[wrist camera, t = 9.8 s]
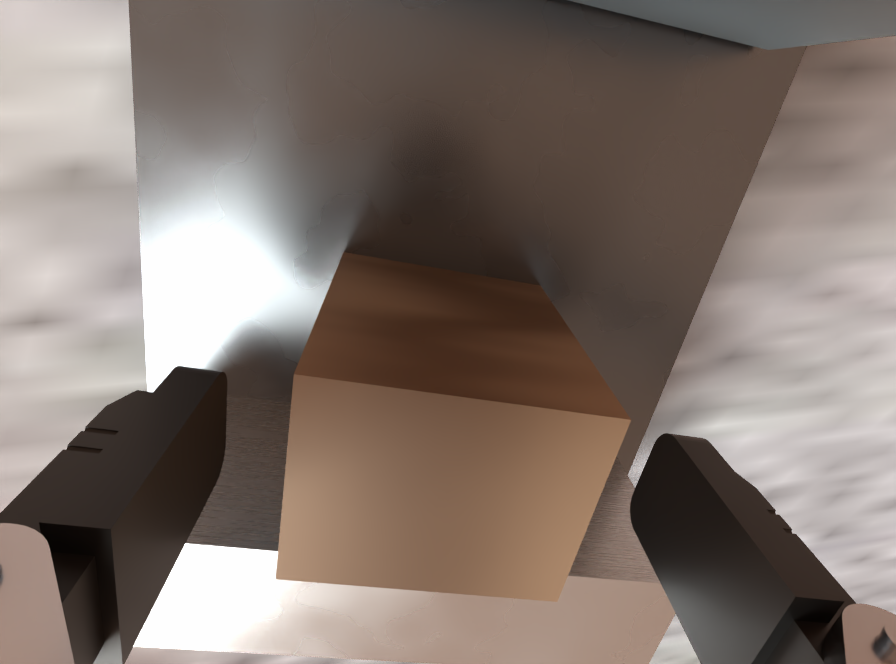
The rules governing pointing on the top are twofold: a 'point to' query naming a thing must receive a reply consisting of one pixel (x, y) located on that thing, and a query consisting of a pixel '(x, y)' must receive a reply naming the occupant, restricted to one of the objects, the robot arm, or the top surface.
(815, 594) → the robot arm
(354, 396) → the walnut block
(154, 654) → the top surface
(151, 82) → the plate
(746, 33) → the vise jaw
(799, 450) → the top surface
